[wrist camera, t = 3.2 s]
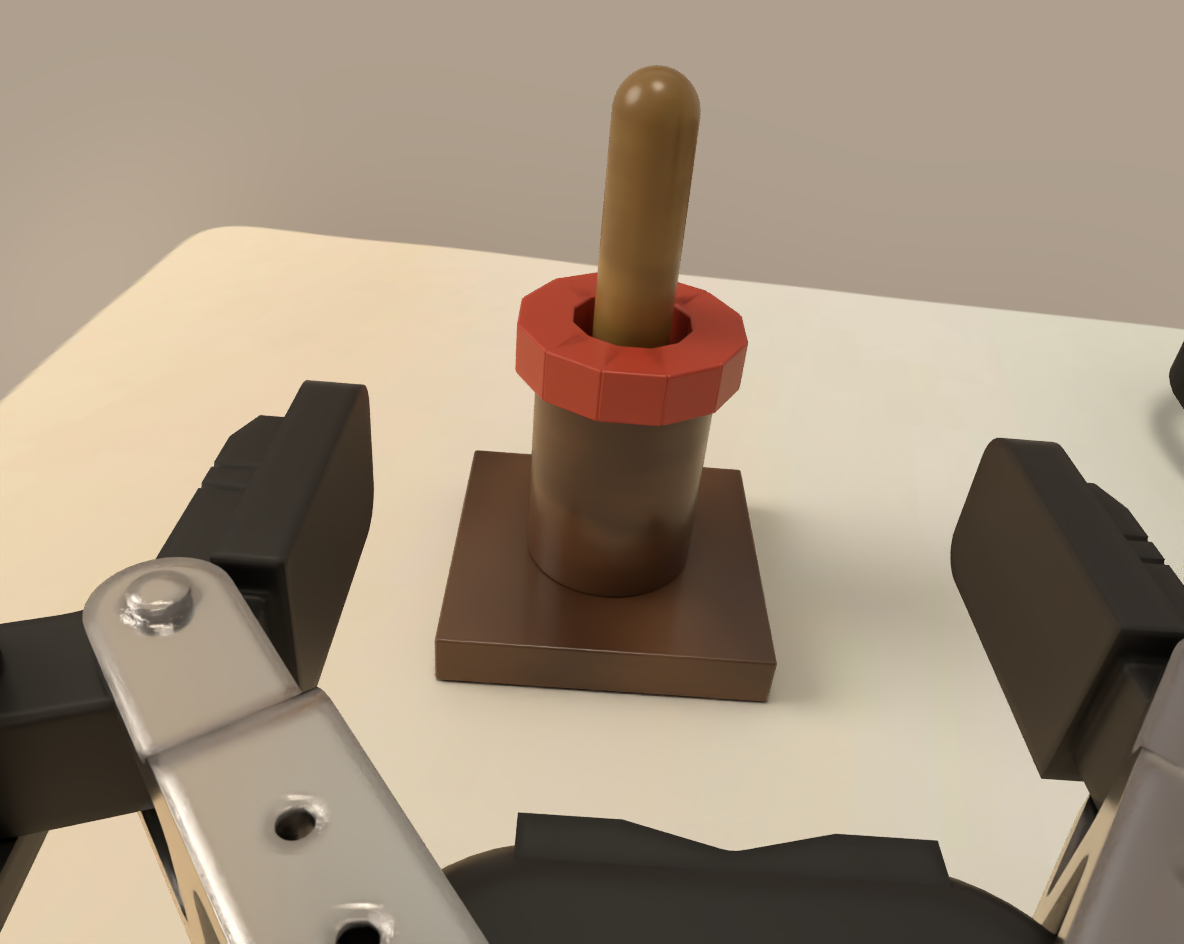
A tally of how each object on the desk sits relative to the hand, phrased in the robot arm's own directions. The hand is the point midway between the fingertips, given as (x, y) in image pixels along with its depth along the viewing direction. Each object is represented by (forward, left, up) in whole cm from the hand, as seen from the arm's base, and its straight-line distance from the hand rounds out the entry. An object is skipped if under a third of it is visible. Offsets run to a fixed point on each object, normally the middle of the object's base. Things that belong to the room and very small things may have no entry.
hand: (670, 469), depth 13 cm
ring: (0, -12, -4) cm, 13 cm away
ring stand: (0, -12, -13) cm, 18 cm away
